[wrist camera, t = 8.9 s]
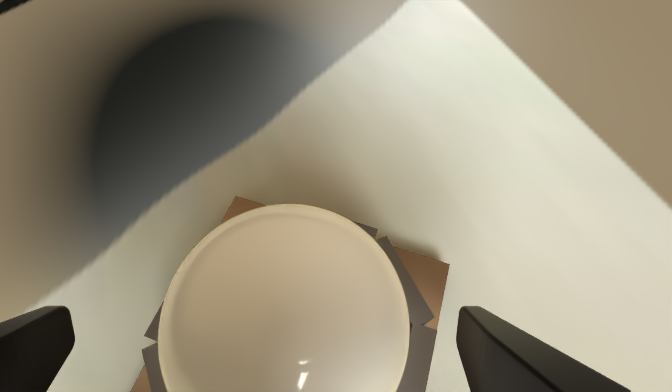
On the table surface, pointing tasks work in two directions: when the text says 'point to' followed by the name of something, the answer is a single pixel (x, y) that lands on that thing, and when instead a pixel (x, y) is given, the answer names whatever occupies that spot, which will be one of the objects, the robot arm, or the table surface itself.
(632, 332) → the table surface
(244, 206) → the bulb holder
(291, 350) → the lightbulb
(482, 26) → the table surface
